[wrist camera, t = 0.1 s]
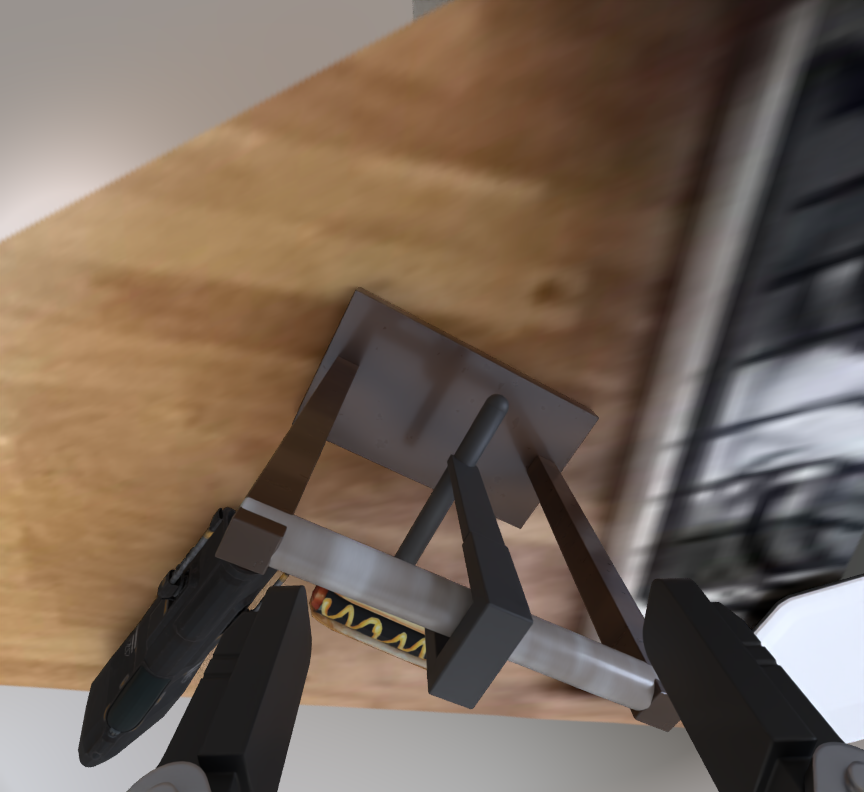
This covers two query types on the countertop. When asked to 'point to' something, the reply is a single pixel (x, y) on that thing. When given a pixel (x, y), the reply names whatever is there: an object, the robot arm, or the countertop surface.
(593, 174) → the countertop surface
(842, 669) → the plate
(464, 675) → the hanger
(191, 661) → the black toy vehicle
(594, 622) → the rail stand
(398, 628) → the hot dog
